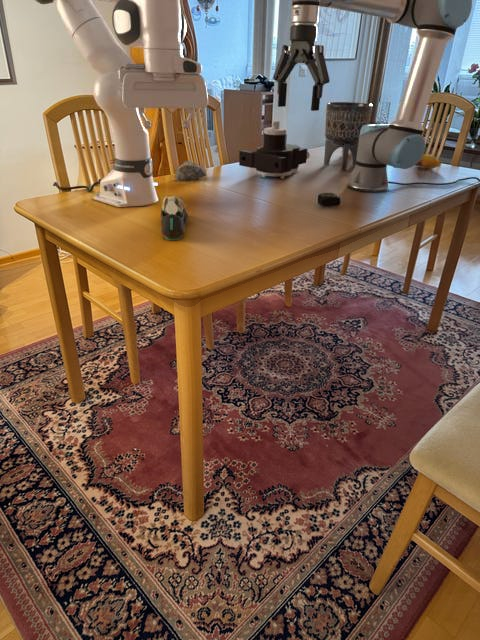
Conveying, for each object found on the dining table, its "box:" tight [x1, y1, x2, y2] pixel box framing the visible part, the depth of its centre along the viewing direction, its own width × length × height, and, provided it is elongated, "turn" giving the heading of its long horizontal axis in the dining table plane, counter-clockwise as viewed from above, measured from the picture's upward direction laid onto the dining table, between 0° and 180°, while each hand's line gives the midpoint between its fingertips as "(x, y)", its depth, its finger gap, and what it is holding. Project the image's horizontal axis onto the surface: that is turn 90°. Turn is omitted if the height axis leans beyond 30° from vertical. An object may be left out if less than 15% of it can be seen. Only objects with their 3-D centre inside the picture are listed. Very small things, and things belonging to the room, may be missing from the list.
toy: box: [414, 154, 442, 170], centre depth 212 cm, size 11×6×15 cm
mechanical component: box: [238, 120, 311, 179], centre depth 191 cm, size 22×21×30 cm
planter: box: [323, 101, 374, 172], centre depth 204 cm, size 20×20×26 cm
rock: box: [174, 160, 208, 182], centre depth 182 cm, size 13×9×6 cm, turn 131°
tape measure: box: [317, 192, 342, 208], centre depth 153 cm, size 7×7×4 cm
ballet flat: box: [160, 195, 189, 241], centre depth 131 cm, size 8×24×8 cm, turn 10°
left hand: (167, 128), depth 112 cm, fingers open, 8 cm apart
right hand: (297, 108), depth 137 cm, fingers open, 13 cm apart
